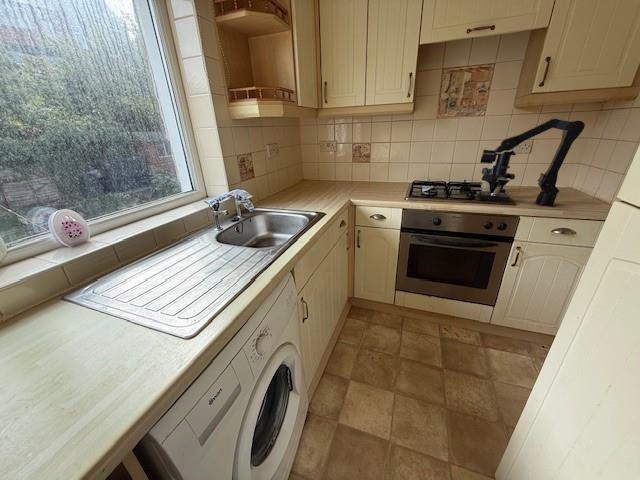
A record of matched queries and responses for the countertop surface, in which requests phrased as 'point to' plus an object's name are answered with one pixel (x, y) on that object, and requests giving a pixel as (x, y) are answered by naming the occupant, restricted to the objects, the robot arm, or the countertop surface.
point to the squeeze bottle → (486, 183)
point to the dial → (497, 190)
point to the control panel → (494, 197)
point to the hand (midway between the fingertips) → (494, 193)
